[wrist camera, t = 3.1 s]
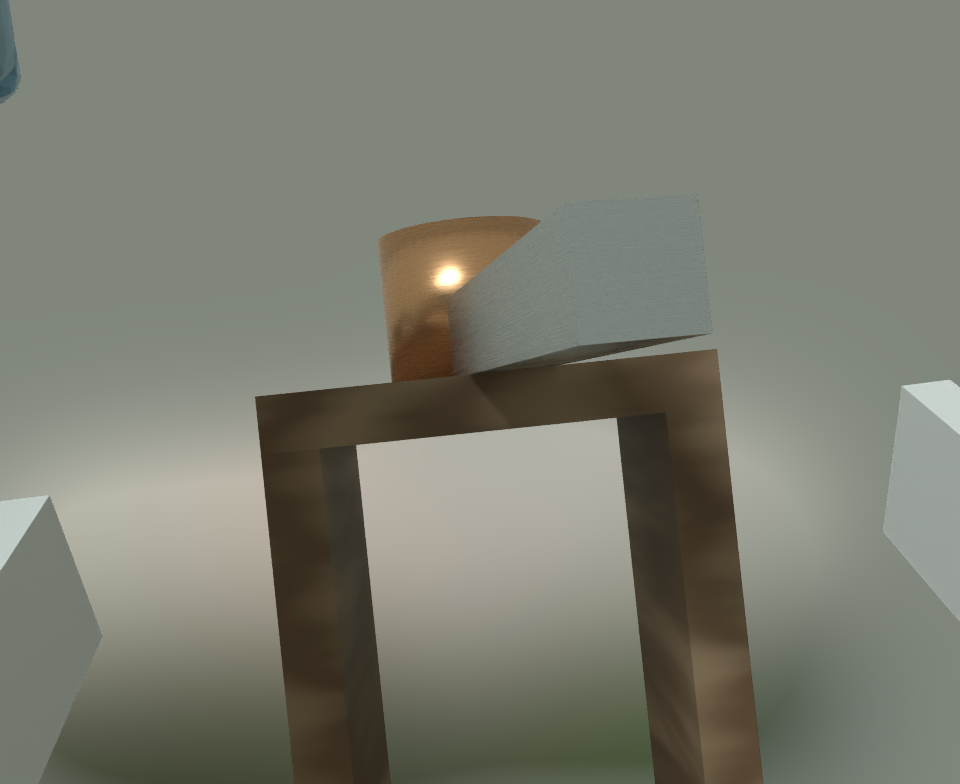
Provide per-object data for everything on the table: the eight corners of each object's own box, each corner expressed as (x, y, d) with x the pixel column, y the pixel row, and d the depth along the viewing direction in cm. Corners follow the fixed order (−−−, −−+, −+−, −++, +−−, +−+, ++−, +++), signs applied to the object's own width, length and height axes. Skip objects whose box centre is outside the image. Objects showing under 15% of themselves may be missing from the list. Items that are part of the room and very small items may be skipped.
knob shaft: (485, 354, 18) (455, 61, 18) (384, 389, 39) (371, 256, 40) (796, 325, 19) (767, 54, 19) (535, 374, 41) (521, 246, 41)
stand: (344, 1275, 30) (255, 396, 30) (374, 1056, 40) (306, 398, 40) (809, 1218, 30) (716, 348, 31) (723, 1015, 40) (654, 361, 41)
